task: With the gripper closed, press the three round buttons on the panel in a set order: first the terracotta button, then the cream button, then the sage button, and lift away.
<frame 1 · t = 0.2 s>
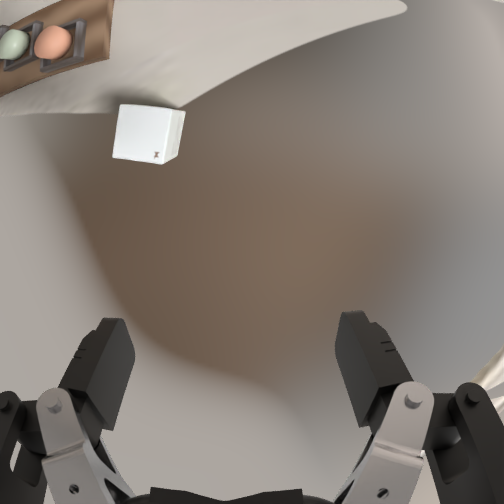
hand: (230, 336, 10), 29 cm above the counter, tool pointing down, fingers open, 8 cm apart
sage button: (13, 44, 20), point 5 cm above the counter, slide at 0.0 cm
product box: (159, 130, 33), on the counter
button panel: (33, 48, 25), on the counter
terracotta button: (53, 43, 22), point 5 cm above the counter, slide at 0.0 cm
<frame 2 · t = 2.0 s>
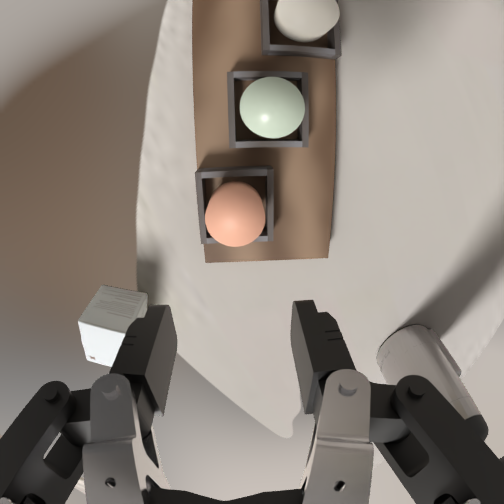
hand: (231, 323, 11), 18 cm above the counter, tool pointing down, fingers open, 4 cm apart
sage button: (270, 107, 19), point 5 cm above the counter, slide at 0.0 cm
product box: (125, 307, 33), on the counter
button panel: (264, 110, 24), on the counter
terracotta button: (235, 212, 23), point 5 cm above the counter, slide at 0.0 cm
cream button: (305, 13, 16), point 5 cm above the counter, slide at 0.0 cm
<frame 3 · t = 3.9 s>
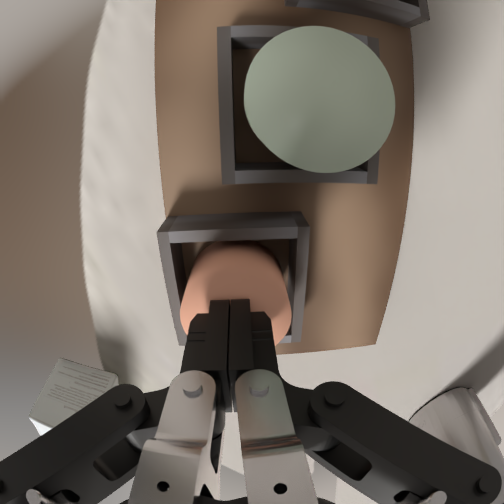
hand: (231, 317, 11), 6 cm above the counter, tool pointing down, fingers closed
sage button: (312, 99, 8), point 5 cm above the counter, slide at 0.0 cm
product box: (93, 383, 22), on the counter
button panel: (288, 106, 13), on the counter
terracotta button: (236, 298, 13), point 4 cm above the counter, slide at 1.0 cm, touching gripper
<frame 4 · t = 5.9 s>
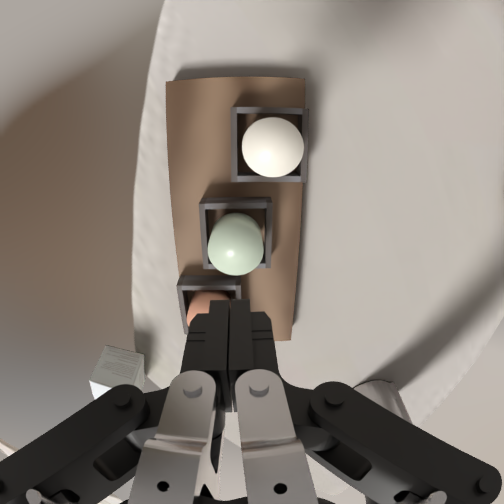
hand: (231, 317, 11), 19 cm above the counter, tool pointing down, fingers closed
sage button: (235, 243, 24), point 5 cm above the counter, slide at 0.0 cm
product box: (126, 361, 38), on the counter
button panel: (237, 222, 29), on the counter
terracotta button: (210, 312, 29), point 4 cm above the counter, slide at 1.2 cm
cream button: (271, 145, 21), point 5 cm above the counter, slide at 0.0 cm
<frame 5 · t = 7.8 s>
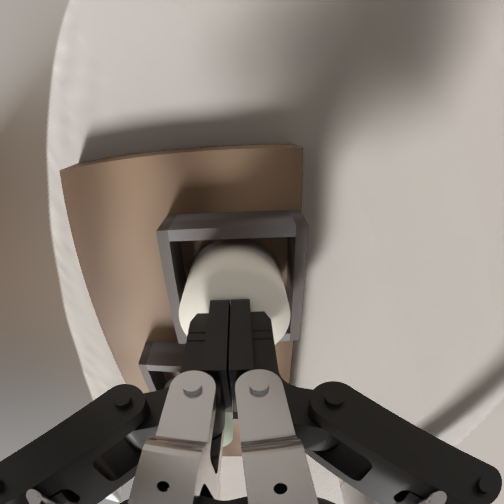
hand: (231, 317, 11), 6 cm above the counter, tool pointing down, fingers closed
sage button: (196, 414, 15), point 5 cm above the counter, slide at 0.0 cm
button panel: (203, 354, 20), on the counter
cream button: (234, 298, 13), point 4 cm above the counter, slide at 0.9 cm, touching gripper
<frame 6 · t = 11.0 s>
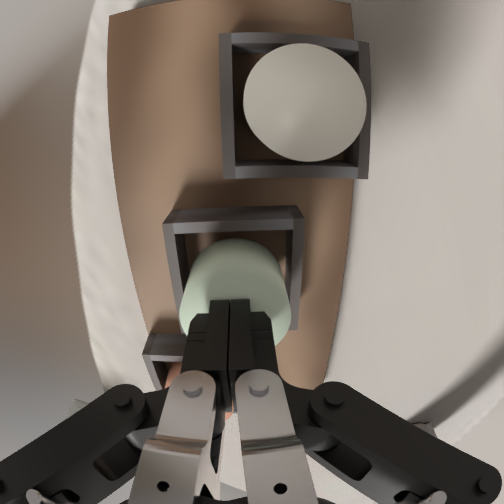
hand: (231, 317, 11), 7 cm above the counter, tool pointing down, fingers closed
sage button: (235, 298, 13), point 5 cm above the counter, slide at 0.0 cm, touching gripper
button panel: (237, 247, 17), on the counter
terracotta button: (199, 389, 17), point 4 cm above the counter, slide at 1.2 cm
cream button: (299, 103, 10), point 4 cm above the counter, slide at 1.2 cm
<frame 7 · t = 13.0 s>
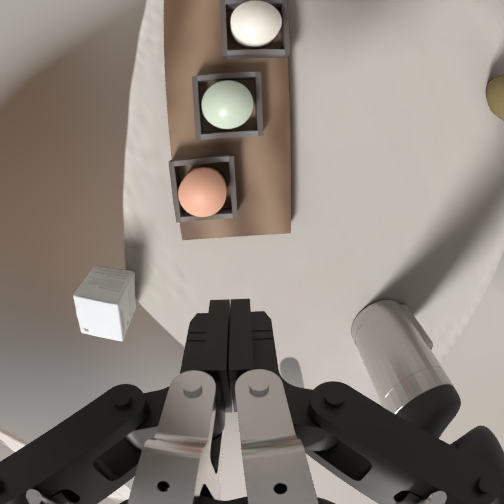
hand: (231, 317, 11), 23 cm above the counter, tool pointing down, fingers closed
sage button: (227, 105, 24), point 4 cm above the counter, slide at 1.2 cm
squeeze bottle: (495, 97, 26), on the counter
product box: (116, 285, 37), on the counter
button panel: (228, 106, 27), on the counter
terracotta button: (203, 190, 27), point 4 cm above the counter, slide at 1.2 cm
cream button: (255, 24, 20), point 4 cm above the counter, slide at 1.2 cm
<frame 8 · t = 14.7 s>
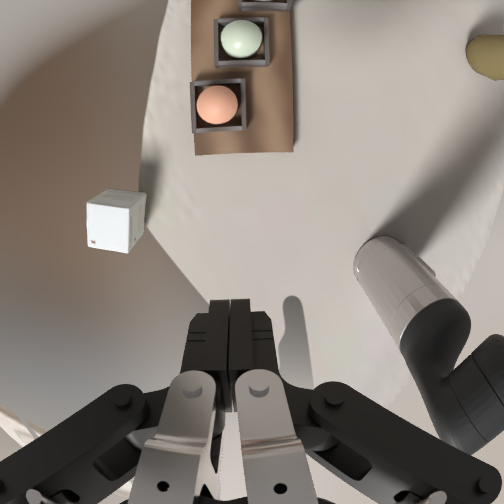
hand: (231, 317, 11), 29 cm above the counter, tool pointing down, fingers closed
sage button: (241, 40, 26), point 4 cm above the counter, slide at 1.2 cm
squeeze bottle: (475, 58, 28), on the counter
product box: (127, 209, 39), on the counter
button panel: (241, 48, 30), on the counter
terracotta button: (218, 105, 30), point 4 cm above the counter, slide at 1.2 cm
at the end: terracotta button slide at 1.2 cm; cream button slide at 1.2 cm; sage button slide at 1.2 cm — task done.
